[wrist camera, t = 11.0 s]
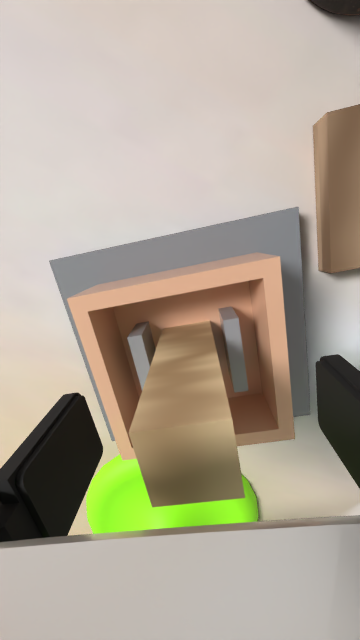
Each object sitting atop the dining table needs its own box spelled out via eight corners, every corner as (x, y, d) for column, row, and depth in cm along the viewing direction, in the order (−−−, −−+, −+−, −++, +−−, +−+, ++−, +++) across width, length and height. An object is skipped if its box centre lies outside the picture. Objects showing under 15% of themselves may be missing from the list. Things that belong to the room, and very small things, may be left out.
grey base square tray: (290, 209, 15) (338, 193, 10) (303, 404, 19) (342, 461, 14) (58, 259, 17) (2, 267, 12) (116, 430, 21) (92, 490, 16)
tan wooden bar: (209, 320, 15) (232, 419, 7) (216, 363, 16) (244, 497, 8) (162, 328, 16) (128, 432, 7) (172, 370, 17) (151, 507, 8)
